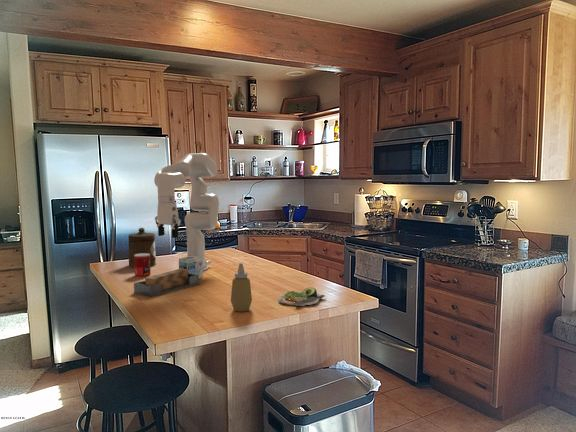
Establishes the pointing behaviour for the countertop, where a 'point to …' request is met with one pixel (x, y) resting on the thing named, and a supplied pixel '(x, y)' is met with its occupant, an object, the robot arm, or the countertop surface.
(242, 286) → the squeeze bottle
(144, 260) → the canned food
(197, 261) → the light bulb box
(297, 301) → the salad plate
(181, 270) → the rail
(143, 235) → the wooden container
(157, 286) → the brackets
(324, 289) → the countertop surface
